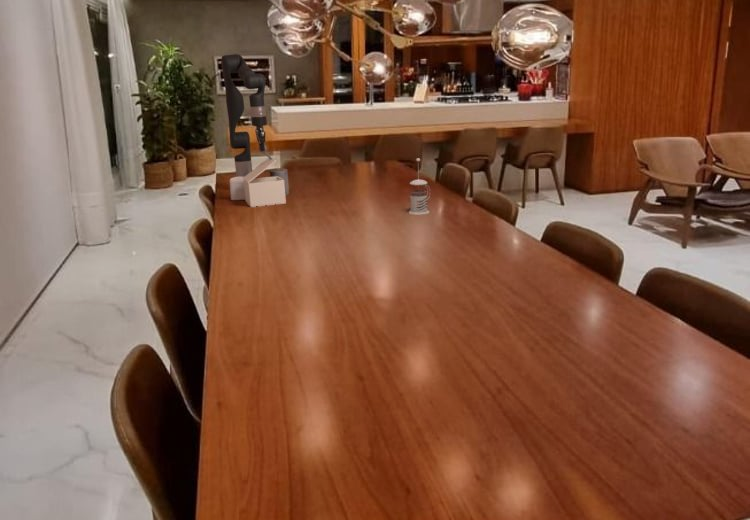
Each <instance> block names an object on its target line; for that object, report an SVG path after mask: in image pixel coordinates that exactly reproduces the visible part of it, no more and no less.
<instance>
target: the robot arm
mask: <svg viewBox="0 0 750 520" xmlns="http://www.w3.org/2000/svg"><path fill="white" fill-rule="evenodd" d="M220 62H221V64H220V65H221V70H222V76H223V77H222V78H223V81H224V88H225V89H224V91H225V101H226V102H225V103H226V110H227V116H228V129H229V132H228V133H229V143H230V147H231V148H232V149H233V150H238V149H239V150H240V149H244V150H243V151H241V152H240V153H238V154H236V155H235V156H234V167H235V175H236V176H235V177H239V176H242V177H245V176H246V175H247V174H249V173H250V172H251V171H252V170H253V163H252V155H251V139H250V138H251V137H250V133H249V132H248V131H236V128H237V124H238V123H239V120H240V119H241V117H242V116H243V113H244V111H245V101H244V95H243V94H242V93H241V91H240V90H239V88H237V85H235V84H234V82H233V80H232V77H231V74H236V73H237V74H238V75H237V76H238V77H239V79H241V81H243V85H244V88H245V89H248V90H256V89H257V91H256V92H255V93H252V94H250V95H249V96H248V98H249V106H250V108H249V110H250V111H249V112H250V122H251V126H252V127H255V128H256V129H255V130H254V131H255V132H254V133H255V136H256V141H257V143H258V147H259V146H260V151H265V146H266V145H265V143H266V130H265V128H264V126H267V125H268V122H267V111H266V107H265V98H264V97H265V89H266V84H267V83H266V81H267V80H266V77H265V75H264V74H262V73H256V72H255V71H254V70H253V69H252V68H251V67H249V65H248V64H247V62H246V60H245V59H244V58H243V57H242V55H240V54H239V53H235V54H226V55H221V58H220ZM264 145H265V146H264ZM260 151H259V152H260Z"/></svg>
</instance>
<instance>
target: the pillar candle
mask: <svg viewBox="0 0 750 520" xmlns="http://www.w3.org/2000/svg"><path fill="white" fill-rule="evenodd" d="M275 176H278V177H280V178H282V179H283V180H284V185H285V197H286V196H288V195H289V194H290V189H289V188H290V187H289V173H288V169H287V168H283V167H282V168H279V167H277V168H273V169H272V168H271V169H269V177H275Z"/></svg>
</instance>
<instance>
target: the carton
mask: <svg viewBox="0 0 750 520" xmlns="http://www.w3.org/2000/svg"><path fill="white" fill-rule="evenodd" d="M244 188H245V198H246V200H245V203H246V202H247V203H246V205H248V206H249V207H250V208H257V207H256V206H258V207H265V205H267V206H273V205H274V206H275V204H276V205H284V204H287V200H286V199H287V198H286V196H285V185H284V180H283V179H282V178H280V177H278V176H275V177H270V176H265V177H256V178H254V179H253V180H252V181H251V182H249V183H247V182H246V181H245V180H244Z"/></svg>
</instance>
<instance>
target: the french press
mask: <svg viewBox="0 0 750 520" xmlns="http://www.w3.org/2000/svg"><path fill="white" fill-rule="evenodd" d="M415 161H416V162H420V161H421V158H419V157H418V158H416V159H415ZM419 166H420V165H419V164H417V177H418V178H417V179H414V180H412V181H410V182H409V184H410V186H417V188H418V189H416V190H411V191H410V193H411V194H410V196H409V198H410V210H408V214H410V215H415V216H416V215H418V216H419V215H428V214H429V213H430V211H429V209H428V200H429V199H430V197H431V194H429V190H431V188H430V186H429V185H428V181H426V180H424V179H420V175H419V174H420V173H419V169H420V168H419ZM420 186H422V187H423V188H424V189H427V191H426V190H424V189H420ZM428 195H429V196H428Z"/></svg>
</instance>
